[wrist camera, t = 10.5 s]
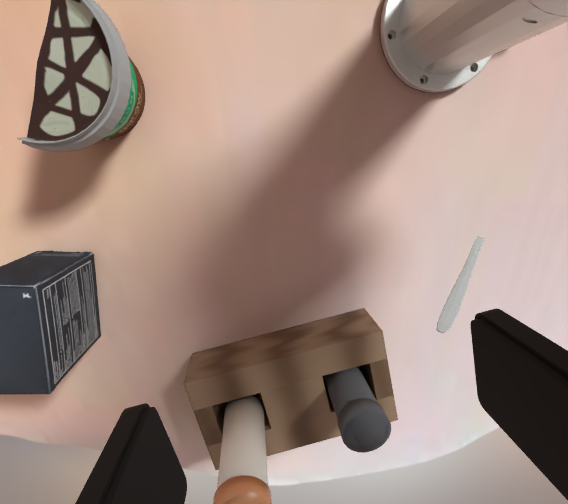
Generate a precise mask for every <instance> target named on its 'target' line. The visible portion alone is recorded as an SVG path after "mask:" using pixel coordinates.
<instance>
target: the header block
mask: <svg viewBox="0 0 568 504" xmlns="http://www.w3.org/2000/svg"><path fill="white" fill-rule="evenodd" d="M357 366H360V371H361V373H362V375H363V377H364V378H365V380H366V382H367V384H368V386H369V388H370V390H371V392H372V393H373V395H374V397H375V399H376V401H377V402H378V403H379V404H380V405H381V406H382V408H383V410H384V411H385V413H386V415H387V417H388V419H389V421H390V422H392V421H395V420H398V418H397V412H396V406H395V401H394V395H393V389H392V383H391V378H390V372H389V366H388V360H387V355H386V349H385V343H384V337H383V332H382V330H381V329H380V327H379V326H378V325H377V324H376V322H375V321H374V320H373V319H372V317H371V316H370V315H369V313H368V312H367V311H366V310H365V308H363V309H359V310H355V311H352V312H348V313H344V314H340V315H336V316H333V317H329V318H325V319H321V320H318V321H314V322H310V323H306V324H302V325H299V326H295V327H291V328H287V329H284V330H280V331H276V332H272V333H268V334H265V335H261V336H257V337H253V338H249V339H246V340H242V341H238V342H234V343H231V344H227V345H223V346H219V347H215V348H212V349H208V350H204V351H200V352H196V353H193V354H192V358H191V361H190V364H189V368H188V371H187V374H186V378H185V381H184V386H185V389H186V392H187V394H188V397H189V400H190V402H191V405H192V408H193V410H194V413H195V416H196V419H197V421H198V424H199V427H200V429H201V432H202V435H203V437H204V440H205V443H206V445H207V448H208V451H209V453H210V456H211V459H212V461H213V464H214V467H215V469H216V470H219V466H220V455H221V445H222V435H223V425H224V415H225V408H226V405H227V402H228V401H232V400H235V399H239V398H243V397H246V396H250V395H254V394H258V393H261V396H260V397H257V399H259V400H260V401H261V403H262V405H263V408H264V424H265V441H266V456H269V455H273V454H276V453H280V452H284V451H287V450H291V449H294V448H298V447H302V446H305V445H309V444H312V443H316V442H320V441H323V440H327V439H330V438H334V437H338V436H341V433H340V431H339V428H338V419H337V416H336V413H335V410H334V407H333V404H332V401H331V398H330V395H329V392H328V390H327V387H326V384H325V381H324V379H323V378H322V376H324V375H328V374H332V373H335V372H339V371H343V370H346V369H350V368H354V367H357Z"/></svg>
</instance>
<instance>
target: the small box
mask: <svg viewBox="0 0 568 504" xmlns="http://www.w3.org/2000/svg"><path fill="white" fill-rule="evenodd" d="M100 336H101V333H100V320H99V309H98V297H97V285H96V273H95V264H94V254H93V253H91V252H82V253H81V252H54V251H36V252H34V253H32V254H29V255H27V256H25V257H22V258H20V259H18V260H15V261H13V262H11V263H8V264H6V265H3V266H1V267H0V394H50V393H51V392H52V391H53V390H54V389H55V388H56V386H57V385H58V384H59V382H60V381H61V380H62V379H63V377H64V376H65V375H66V374H67V373H68V371H70V369H71V368H72V367H73V366H74V365H75V364H76V363H77V362H78V360H79V359H80V358H81V357H82V356H83V355H84V354H85V353H86V351H87V350H88V349H89V348H90V347H91V346H92V345H93V344H94V343H95V342H96V340H97V339H98V338H100Z"/></svg>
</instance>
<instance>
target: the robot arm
mask: <svg viewBox="0 0 568 504" xmlns="http://www.w3.org/2000/svg"><path fill="white" fill-rule="evenodd" d="M566 22H568V0H385V2H384V6H383V10H382V15H381V25H380V33H381V43H382V47H383V51H384V54H385V57H386V59H387V61H388V63H389V65H390V67H391V68H392V70H393V71H394V72H395V74H396V75H397V76H398V77H399V78H400V79H401V80H402V81H403V82H404V83H406V84H407V85H409V86H411V87H413V88H414V89H418V90H421V91H424V92H434V93H436V92H443V91H448V90H451V89H454V88H457V87H459V86H461V85H463V84H465V83H467V82H468V81H470V80H471V79H472V78H474V77H475V76H476V75H477V74H478V73H479V72H480V71H481V70H482V69H483V68H484V67H485V65H486V64H487V63H488V61H489V60H490V58H491V57H492V55H494V54H496V53H498V52H500V51H503V50H505V49H507V48H509V47H512V46H514V45H516V44H518V43H521V42H523V41H525V40H527V39H530V38H532V37H534V36H536V35H539V34H541V33H543V32H545V31H548V30H550V29H552V28H554V27H557V26H559V25H561V24H563V23H566ZM388 36H390V38H391V39H389V38H388ZM420 79H421V81H422V83H421V82H420ZM471 334H472V344H473V354H474V364H475V374H476V384H477V394H478V399H479V401H480V404H481V405H482V407H483V408H484V410H485V411H486V412H487V413H488V414H489V415H490V416H491V417H492V419H493V420H494V421H495V422H496V423H497V424H498V425H499V426H500V427H501V428H502V429H503V430H504V432H505V433H507V435H508V436H509V437H510V438H511V439H512V440H513V441H514V442H515V444H516V445H517V446H518V447H519V448H520V449H521V450H522V451H523V452H524V453H525V454H526V455H527V457H528V458H530V460H531V461H532V462H533V463H534V464H535V465H536V466H537V467H538V469H539V470H540V471H541V472H542V473H543V474H544V475H545V476H546V477H547V478H548V479H549V481H550V482H551V483H552V484H553V485H554V486H555V487H556V488H557V489H558V490H559V491H560V492H561V493H562V495H563V496H564V497H565V498H566V499H567V500H568V351H567V350H565V349H564V348H562V347H560V346H559V345H557V344H556V343H554V342H552V341H551V340H549V339H547V338H546V337H544V336H543V335H541V334H539V333H538V332H536V331H534V330H533V329H531V328H529V327H528V326H526V325H525V324H523V323H521V322H520V321H518V320H516V319H515V318H513V317H512V316H510V315H508V314H507V313H505V312H503V311H502V310H500V309H493V310H489V311H485V312H481V313H478V314H476V316H475V320H472V321H471ZM186 491H187V482H186V477H185V474H184V472H183V470H182V467H181V465H180V463H179V460H178V458H177V456H176V453H175V451H174V449H173V446H172V444H171V442H170V440H169V437H168V435H167V433H166V430H165V428H164V426H163V423H162V421H161V419H160V416H159V414H158V412H157V410H156V408H155V407H150V406H149V405H148V404H141V405H137V406H134V407H130V408H127V409H125V410H124V411H123V412H122V414H121V416H120V418H119V420H118V422H117V424H116V426H115V428H114V430H113V432H112V434H111V435H110V437H109V439H108V441H107V443H106V445H105V447H104V449H103V451H102V453H101V455H100V457H99V459H98V461H97V463H96V465H95V467H94V468H93V470H92V473H91V474H90V476H89V478H88V480H87V482H86V484H85V486H84V488H83V490H82V492H81V494H80V496H79V498H78V500H77V502H76V503H75V504H184V502H185V497H186Z"/></svg>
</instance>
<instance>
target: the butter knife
mask: <svg viewBox="0 0 568 504" xmlns="http://www.w3.org/2000/svg"><path fill="white" fill-rule="evenodd" d="M483 241H484V238H483V237H480V236H477V237H476V239H475V241H474V244H473V247H472V250H471V252H470V254H469V256H468V259H467V261H466V263H465V265H464V268H463V270H462V272H461V274H460V276H459V278H458V279H457V281H456V283H455V285H454V287H453V289H452V291H451V293H450V295H449V297H448V299H447V301H446V304H445V306H444V308H443V310H442V313H441V315H440V317H439V320H438V323H437V330H438V331H439V332H443V333H444V332H446V331H447V330H448V329H449V328H450V327H451V325H452V323H453V321H454V319H455V317H456V315H457V313H458V310H459V307H460V305H461V302H462V300H463V297H464V295H465V292H466V289H467V286H468V282H469V279H470V276H471V273H472V270H473V268H474V265H475V262H476V259H477V257H478V254H479V251H480V249H481V246H482V244H483Z"/></svg>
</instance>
